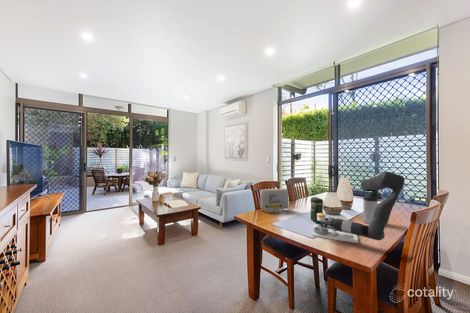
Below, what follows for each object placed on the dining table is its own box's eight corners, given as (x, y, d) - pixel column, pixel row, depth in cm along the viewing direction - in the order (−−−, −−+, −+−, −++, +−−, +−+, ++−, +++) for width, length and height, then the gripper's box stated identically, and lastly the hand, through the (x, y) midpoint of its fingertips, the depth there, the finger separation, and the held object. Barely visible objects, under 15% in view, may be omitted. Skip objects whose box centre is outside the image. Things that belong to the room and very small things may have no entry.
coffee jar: (325, 222, 158) (324, 198, 158) (316, 223, 157) (315, 199, 156) (317, 218, 168) (317, 196, 167) (309, 219, 166) (308, 196, 166)
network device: (286, 208, 197) (286, 188, 197) (289, 211, 188) (289, 190, 188) (260, 209, 195) (260, 189, 195) (262, 212, 187) (261, 190, 186)
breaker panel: (314, 225, 151) (314, 217, 151) (354, 231, 140) (354, 221, 140) (312, 236, 133) (312, 226, 133) (358, 243, 122) (358, 232, 122)
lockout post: (317, 230, 139) (316, 212, 139) (325, 231, 137) (325, 213, 137) (316, 232, 134) (316, 214, 134) (325, 234, 132) (325, 215, 132)
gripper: (347, 217, 130) (322, 212, 142) (340, 223, 120) (313, 217, 132) (347, 228, 130) (322, 222, 142) (340, 235, 120) (313, 228, 132)
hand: (318, 220), depth 137 cm, fingers open, 8 cm apart
